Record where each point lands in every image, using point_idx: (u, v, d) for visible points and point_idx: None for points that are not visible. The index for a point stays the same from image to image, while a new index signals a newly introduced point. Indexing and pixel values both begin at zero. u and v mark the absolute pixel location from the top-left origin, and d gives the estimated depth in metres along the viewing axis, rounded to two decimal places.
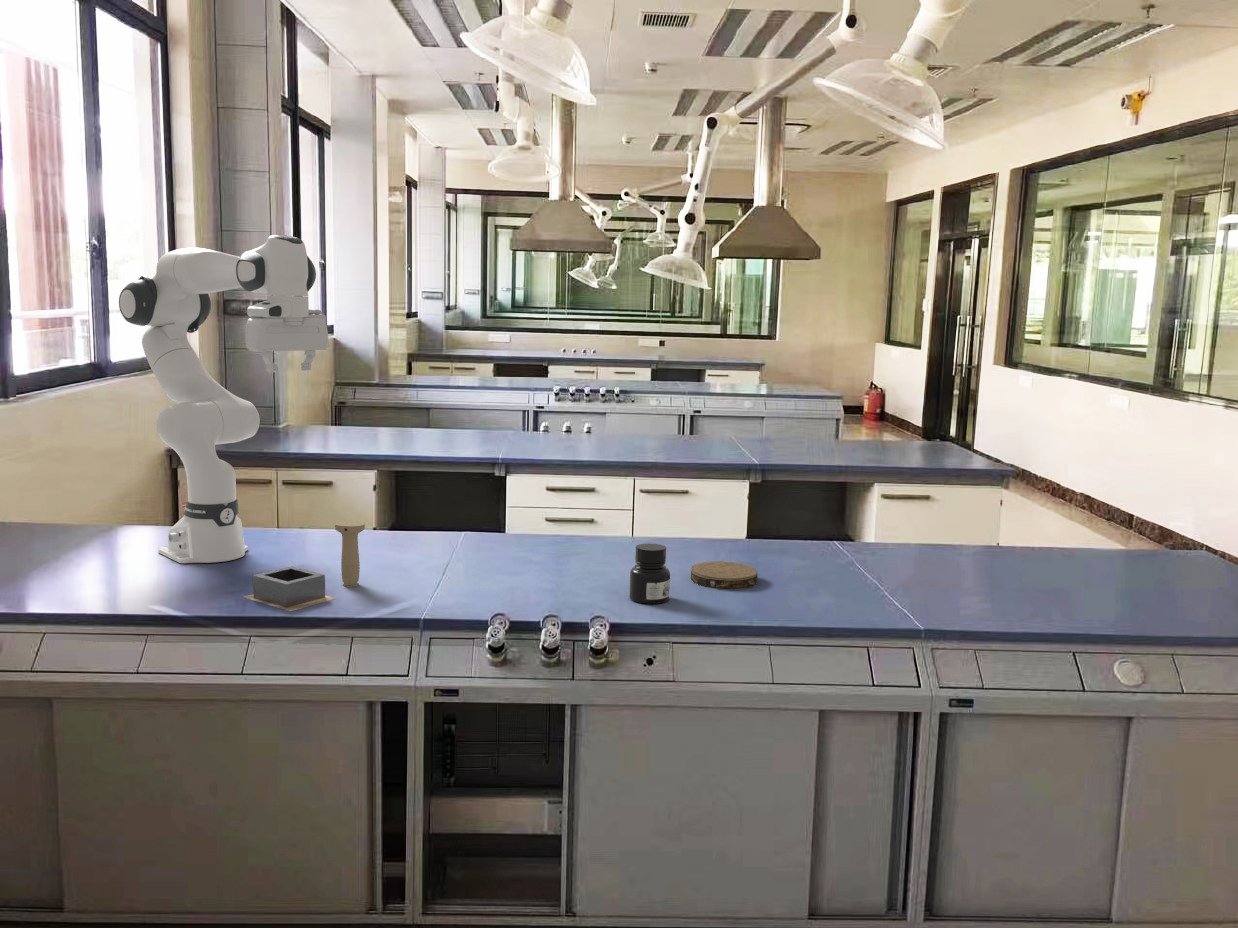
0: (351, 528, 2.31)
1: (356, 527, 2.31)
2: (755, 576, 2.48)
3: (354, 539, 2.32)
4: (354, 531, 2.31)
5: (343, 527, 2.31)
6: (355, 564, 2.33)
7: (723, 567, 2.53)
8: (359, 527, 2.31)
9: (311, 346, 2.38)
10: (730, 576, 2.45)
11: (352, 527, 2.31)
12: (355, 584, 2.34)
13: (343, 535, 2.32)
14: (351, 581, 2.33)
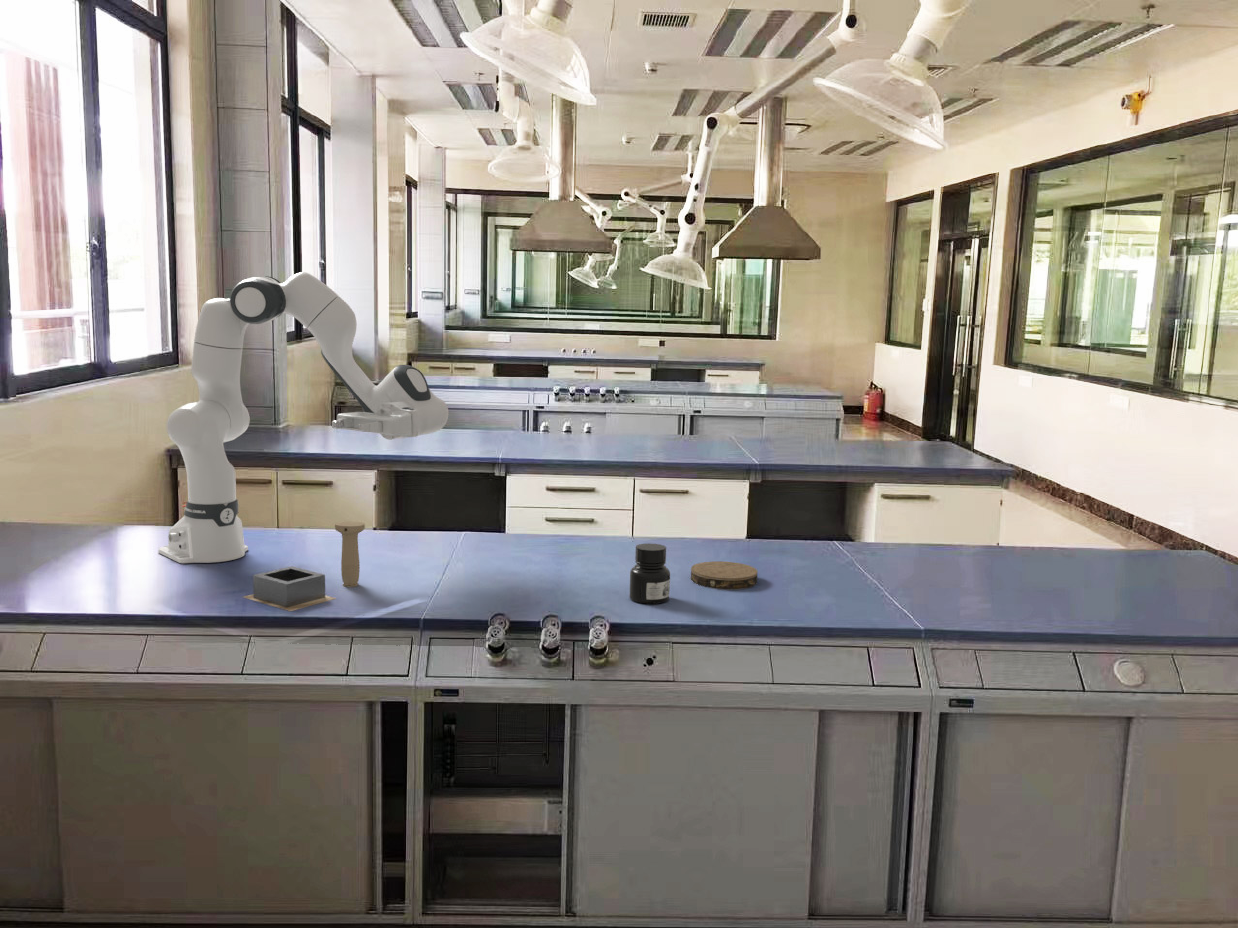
0: (351, 528, 2.31)
1: (356, 527, 2.31)
2: (755, 576, 2.48)
3: (354, 539, 2.32)
4: (354, 531, 2.31)
5: (343, 527, 2.31)
6: (355, 564, 2.33)
7: (723, 567, 2.53)
8: (359, 527, 2.31)
9: None
10: (730, 576, 2.45)
11: (352, 527, 2.31)
12: (355, 584, 2.34)
13: (343, 535, 2.32)
14: (351, 581, 2.33)
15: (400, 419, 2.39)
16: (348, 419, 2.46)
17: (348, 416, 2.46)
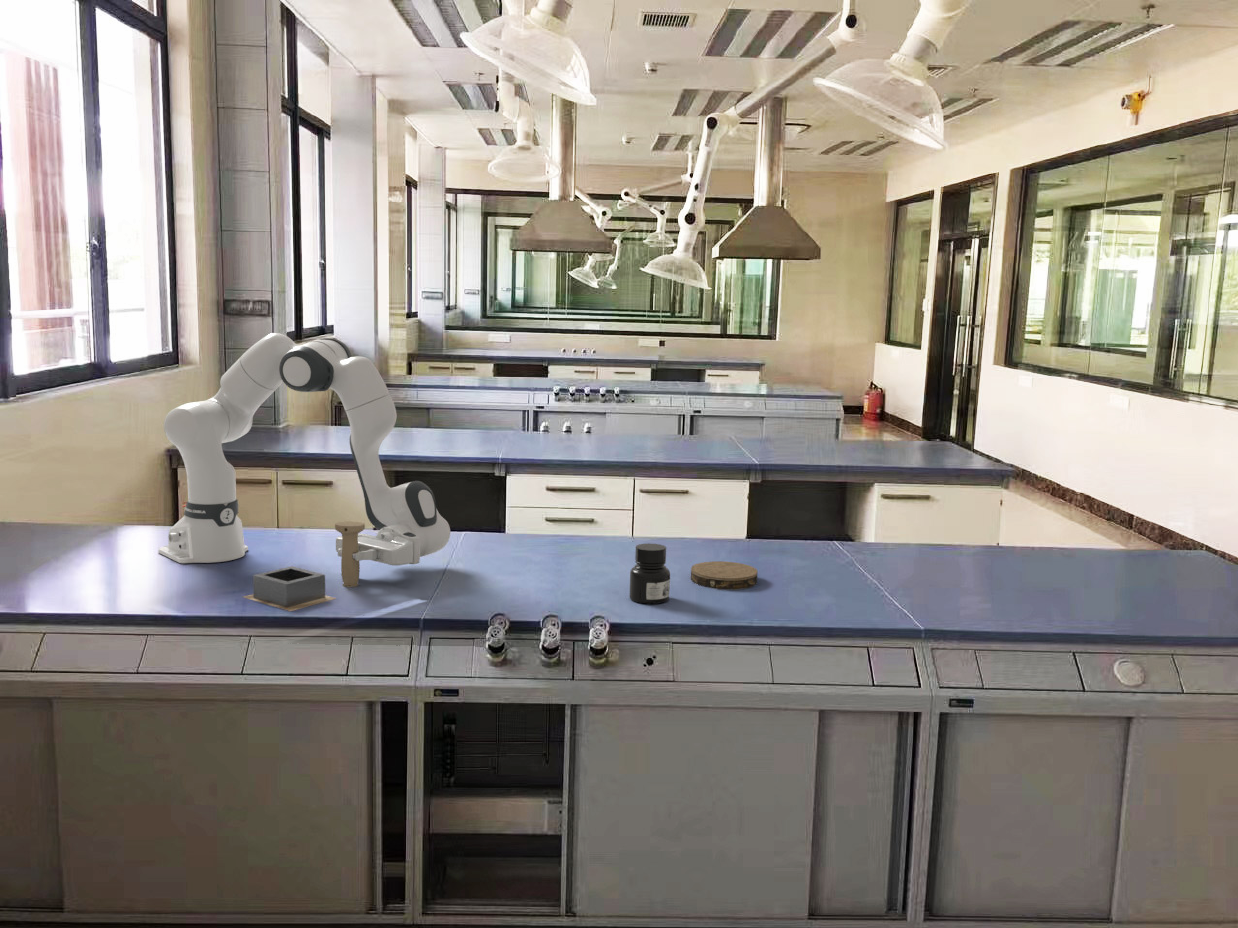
0: (351, 528, 2.31)
1: (356, 527, 2.31)
2: (755, 576, 2.48)
3: (354, 539, 2.32)
4: (354, 531, 2.31)
5: (343, 527, 2.31)
6: (355, 564, 2.33)
7: (723, 567, 2.53)
8: (359, 527, 2.31)
9: None
10: (730, 576, 2.45)
11: (352, 527, 2.31)
12: (355, 584, 2.34)
13: (343, 535, 2.32)
14: (351, 581, 2.33)
15: (402, 549, 2.33)
16: None
17: None
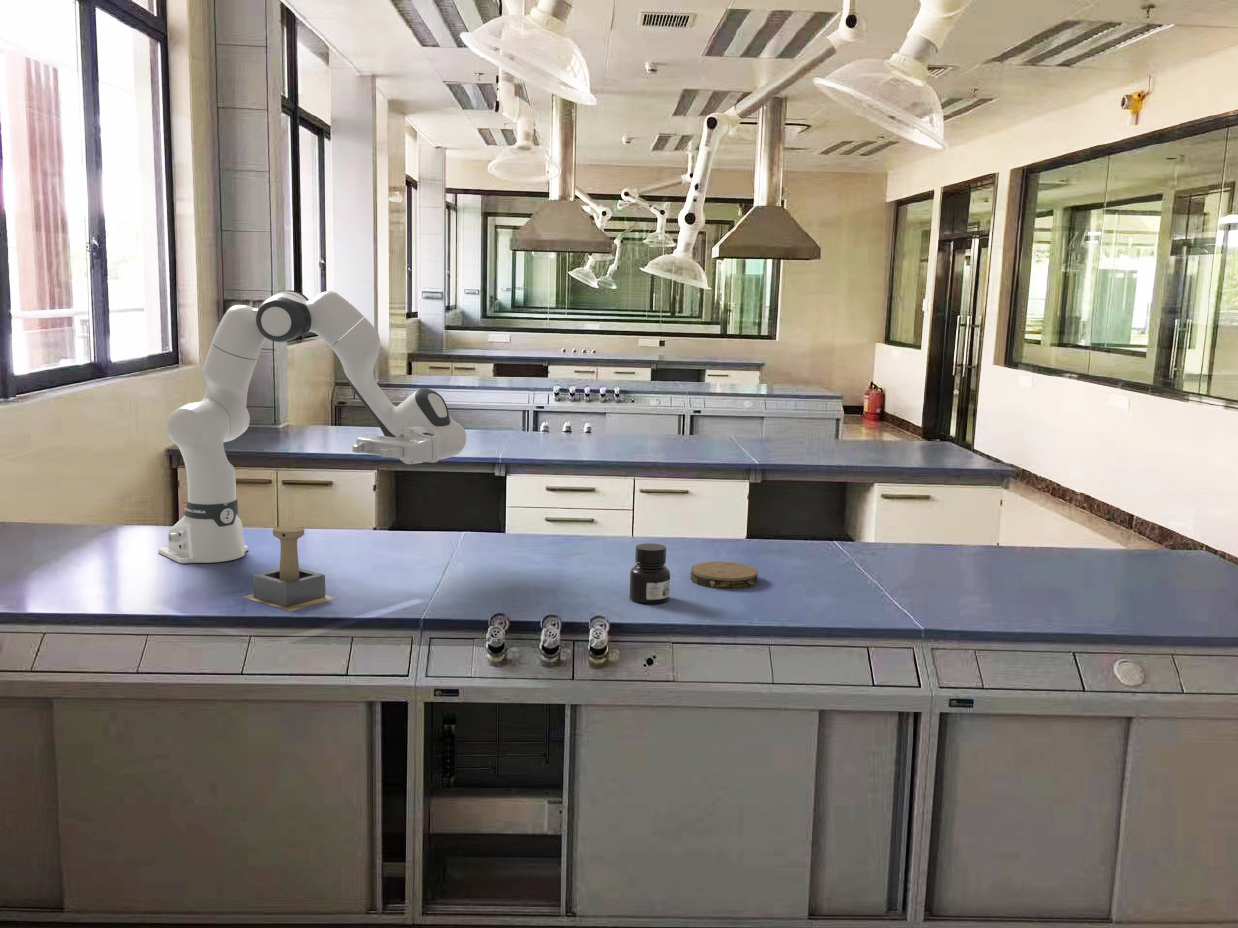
0: (289, 534, 2.19)
1: (295, 532, 2.20)
2: (755, 576, 2.47)
3: (293, 545, 2.21)
4: (292, 537, 2.20)
5: (281, 532, 2.19)
6: (295, 571, 2.22)
7: (723, 567, 2.53)
8: (297, 533, 2.20)
9: None
10: (730, 576, 2.45)
11: (290, 532, 2.19)
12: None
13: (281, 541, 2.21)
14: None
15: (421, 445, 2.40)
16: (368, 443, 2.47)
17: (368, 440, 2.47)
